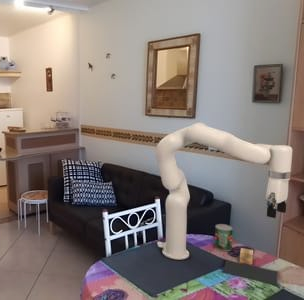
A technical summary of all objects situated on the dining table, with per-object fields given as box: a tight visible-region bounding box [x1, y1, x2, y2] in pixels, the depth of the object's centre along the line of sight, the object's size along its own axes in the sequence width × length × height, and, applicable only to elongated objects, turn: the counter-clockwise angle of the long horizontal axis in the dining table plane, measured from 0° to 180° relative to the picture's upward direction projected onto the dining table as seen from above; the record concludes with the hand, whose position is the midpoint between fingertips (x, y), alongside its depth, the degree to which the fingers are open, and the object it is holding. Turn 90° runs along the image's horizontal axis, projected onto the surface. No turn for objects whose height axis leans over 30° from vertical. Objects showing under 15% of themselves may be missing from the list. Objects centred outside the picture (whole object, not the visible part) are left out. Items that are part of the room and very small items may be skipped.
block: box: [239, 247, 254, 266], centre depth 148 cm, size 5×5×5 cm
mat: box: [222, 260, 278, 286], centre depth 139 cm, size 20×12×1 cm, turn 57°
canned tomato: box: [214, 223, 234, 252], centre depth 162 cm, size 8×8×11 cm
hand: (276, 214), depth 134 cm, fingers open, 9 cm apart
